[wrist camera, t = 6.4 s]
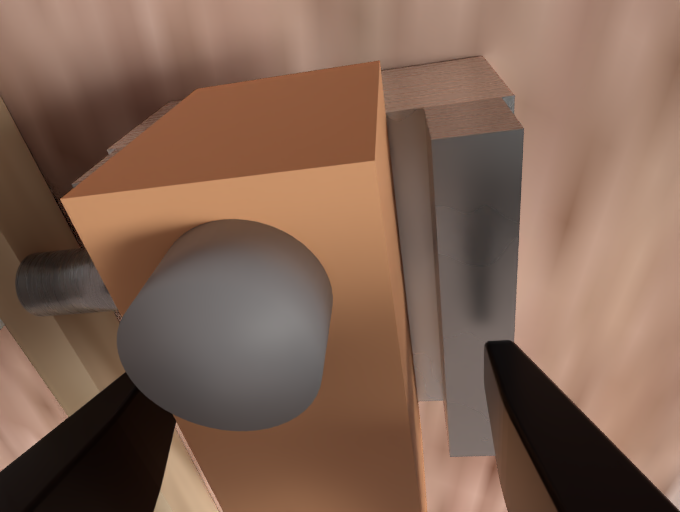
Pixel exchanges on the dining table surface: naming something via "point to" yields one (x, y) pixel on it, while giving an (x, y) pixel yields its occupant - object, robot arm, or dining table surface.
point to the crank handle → (268, 290)
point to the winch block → (405, 233)
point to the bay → (67, 330)
